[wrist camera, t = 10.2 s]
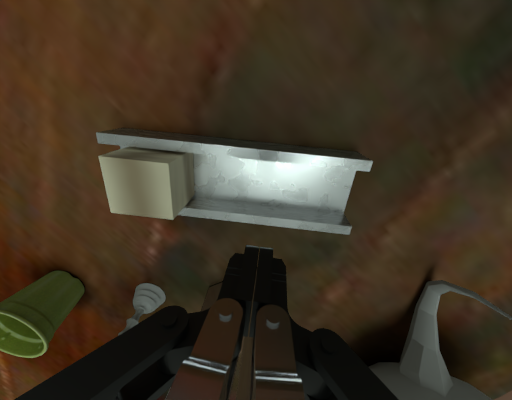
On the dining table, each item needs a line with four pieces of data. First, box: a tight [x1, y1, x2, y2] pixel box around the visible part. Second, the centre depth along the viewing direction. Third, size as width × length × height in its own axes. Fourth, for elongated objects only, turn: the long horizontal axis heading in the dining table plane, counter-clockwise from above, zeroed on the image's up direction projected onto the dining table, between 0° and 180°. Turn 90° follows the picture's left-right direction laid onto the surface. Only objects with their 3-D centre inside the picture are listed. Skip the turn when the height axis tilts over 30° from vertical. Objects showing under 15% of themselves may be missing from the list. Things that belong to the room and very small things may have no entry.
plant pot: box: [0, 271, 84, 358], centre depth 32 cm, size 9×9×9 cm
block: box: [98, 146, 195, 220], centre depth 22 cm, size 6×5×6 cm
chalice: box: [119, 283, 166, 335], centre depth 27 cm, size 7×7×18 cm
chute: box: [96, 128, 373, 235], centre depth 24 cm, size 26×8×4 cm, turn 85°
